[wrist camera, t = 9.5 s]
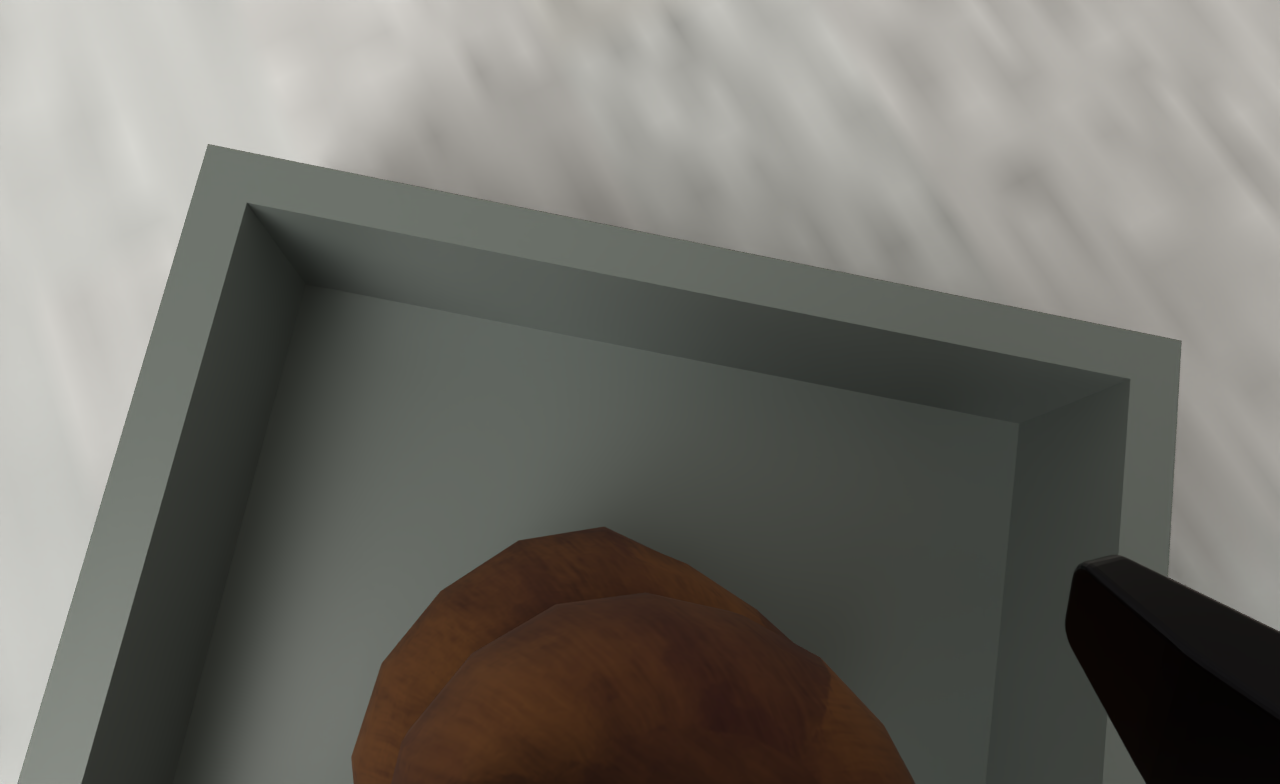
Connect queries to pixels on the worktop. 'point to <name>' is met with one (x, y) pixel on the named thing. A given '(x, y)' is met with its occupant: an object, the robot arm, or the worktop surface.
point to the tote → (588, 475)
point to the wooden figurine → (609, 682)
